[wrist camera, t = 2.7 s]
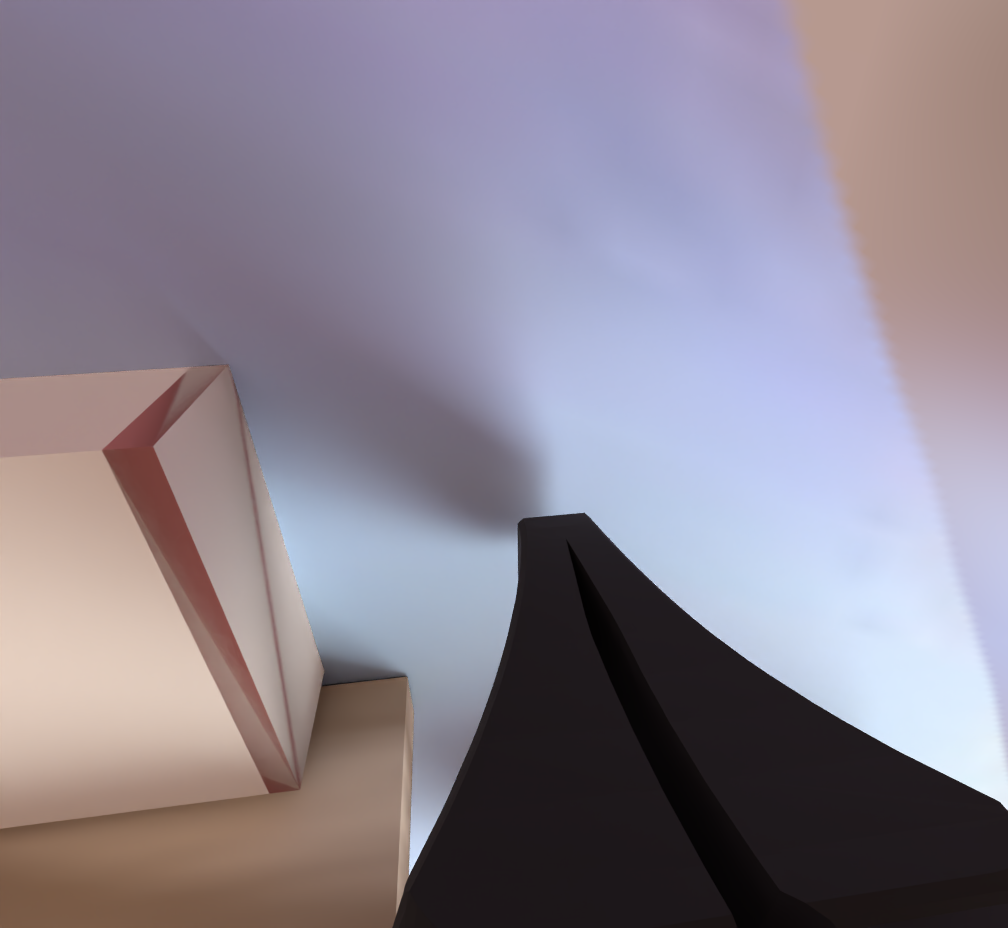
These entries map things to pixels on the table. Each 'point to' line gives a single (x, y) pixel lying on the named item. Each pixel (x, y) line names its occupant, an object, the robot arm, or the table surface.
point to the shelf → (241, 842)
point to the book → (143, 601)
